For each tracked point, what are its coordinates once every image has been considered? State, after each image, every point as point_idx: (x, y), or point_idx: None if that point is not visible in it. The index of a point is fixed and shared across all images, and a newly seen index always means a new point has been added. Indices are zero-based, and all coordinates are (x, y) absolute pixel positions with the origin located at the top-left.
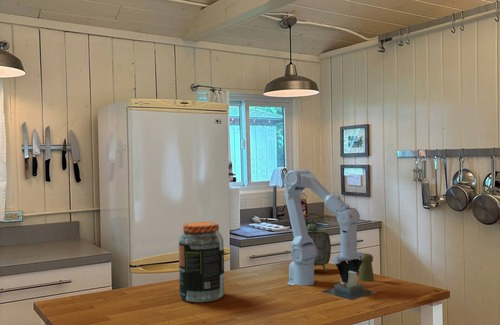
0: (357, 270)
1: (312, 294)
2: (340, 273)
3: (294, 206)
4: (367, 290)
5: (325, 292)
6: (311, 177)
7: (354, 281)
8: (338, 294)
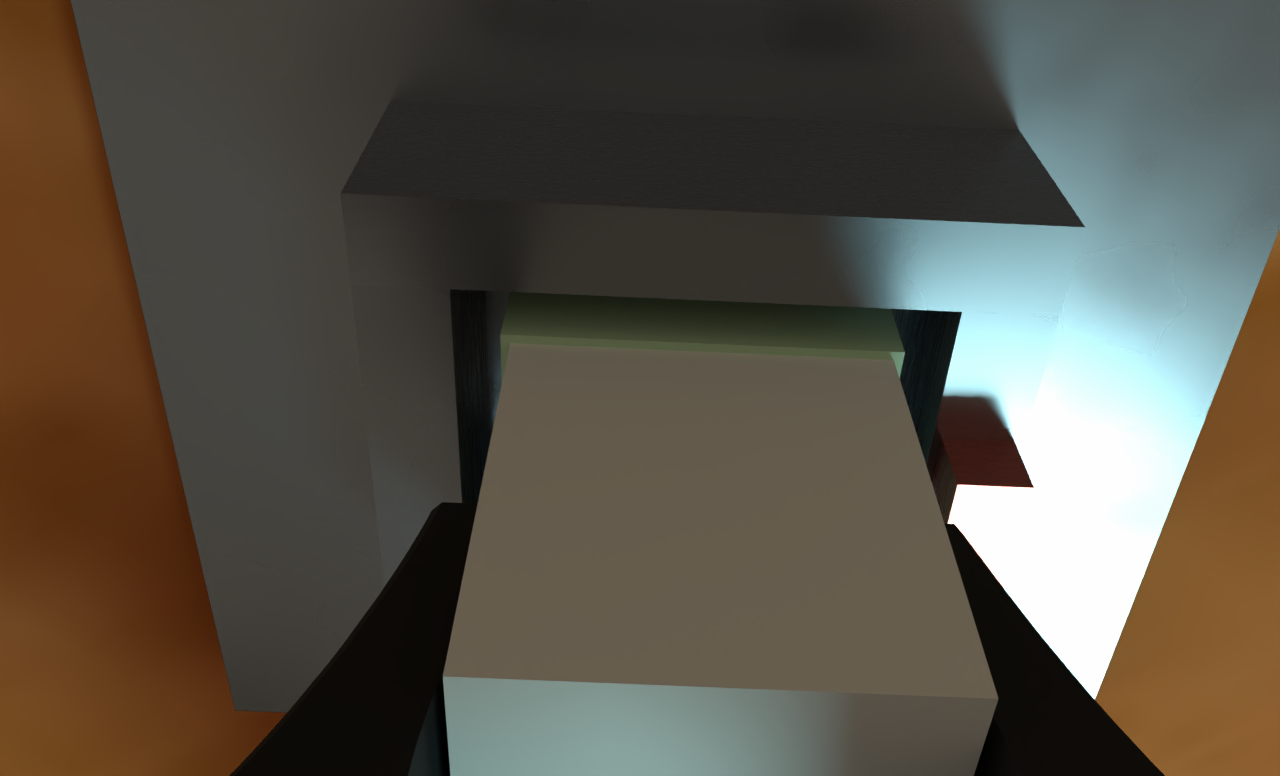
0: (323, 757)
1: (1161, 766)
2: None
3: None
4: (145, 127)
5: (1095, 658)
6: None
7: (632, 434)
8: (1071, 413)
